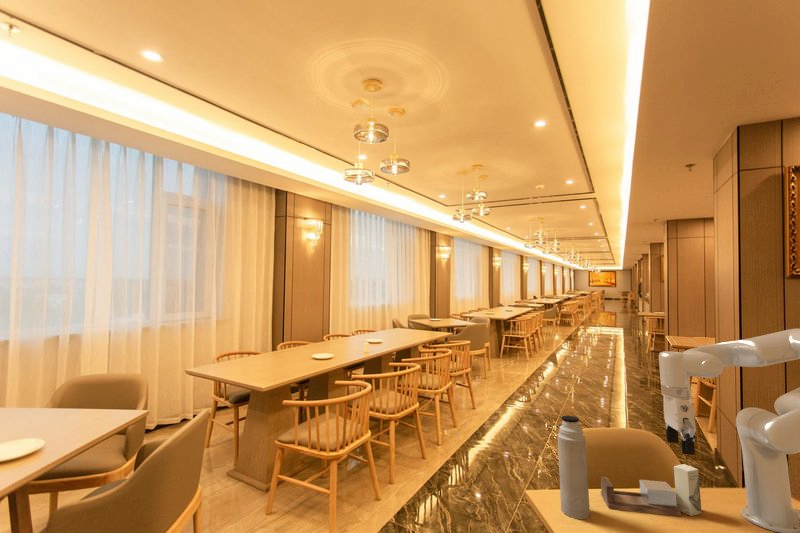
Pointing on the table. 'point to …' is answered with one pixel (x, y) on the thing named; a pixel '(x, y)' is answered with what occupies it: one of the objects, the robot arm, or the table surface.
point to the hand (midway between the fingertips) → (680, 448)
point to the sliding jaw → (657, 493)
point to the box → (687, 489)
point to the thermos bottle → (573, 469)
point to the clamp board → (631, 501)
